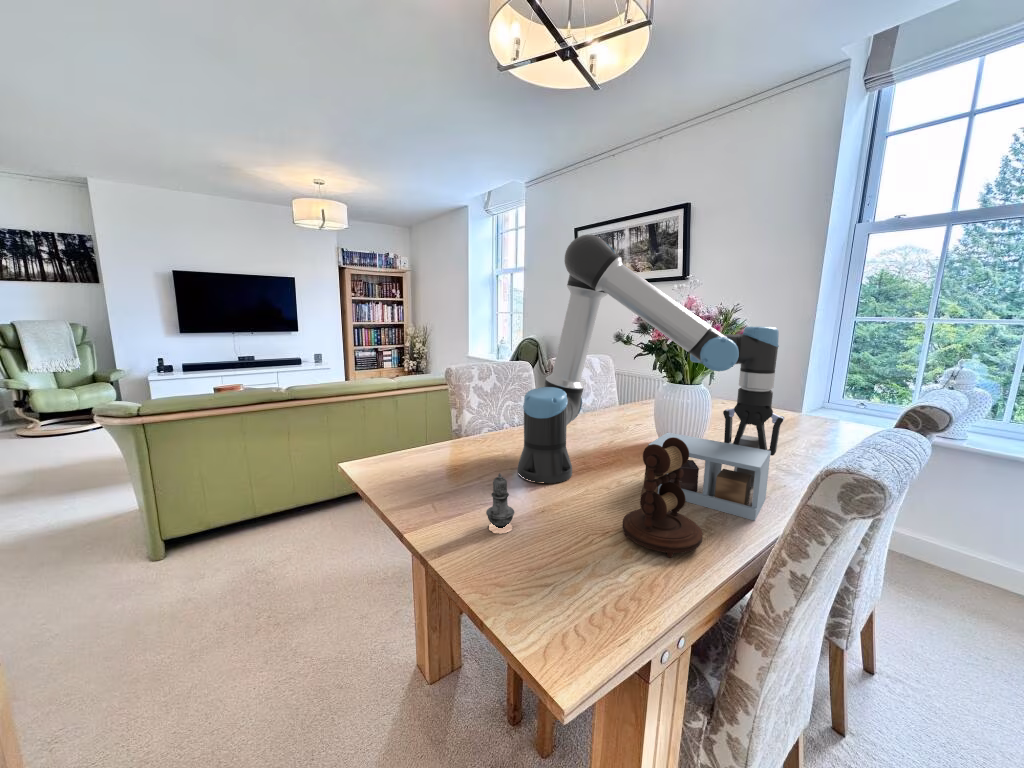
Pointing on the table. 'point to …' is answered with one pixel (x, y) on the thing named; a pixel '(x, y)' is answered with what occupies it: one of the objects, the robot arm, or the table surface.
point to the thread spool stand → (663, 503)
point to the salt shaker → (500, 504)
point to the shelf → (714, 459)
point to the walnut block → (737, 478)
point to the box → (689, 476)
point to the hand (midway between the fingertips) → (746, 476)
